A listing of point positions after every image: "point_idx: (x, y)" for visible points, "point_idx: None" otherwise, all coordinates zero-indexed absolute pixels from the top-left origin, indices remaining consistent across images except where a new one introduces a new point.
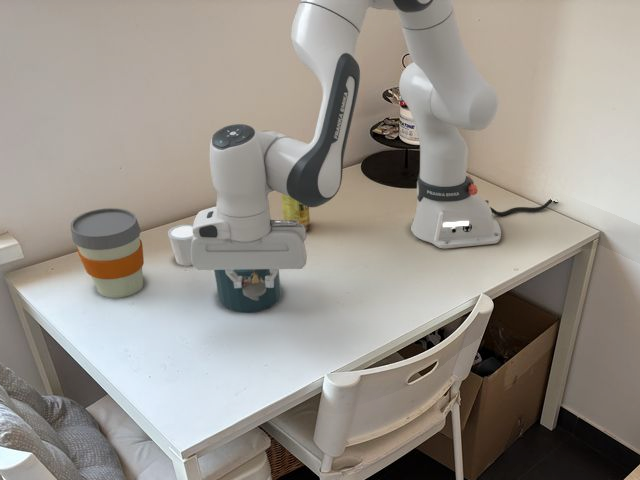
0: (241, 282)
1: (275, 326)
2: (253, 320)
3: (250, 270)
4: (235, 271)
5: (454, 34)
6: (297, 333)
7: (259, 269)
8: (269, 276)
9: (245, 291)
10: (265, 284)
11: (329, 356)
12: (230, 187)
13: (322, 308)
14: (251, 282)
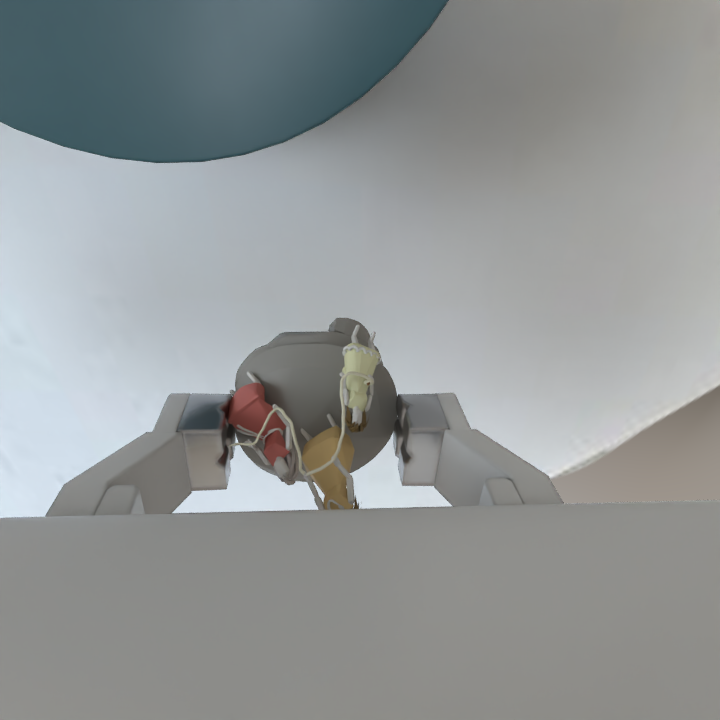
0: (228, 477)
1: (376, 239)
2: (270, 183)
3: (244, 139)
4: (102, 150)
5: None
6: (466, 293)
7: (327, 119)
8: (440, 438)
9: (262, 466)
10: (398, 445)
11: (555, 419)
12: None
13: (615, 90)
14: (293, 405)
